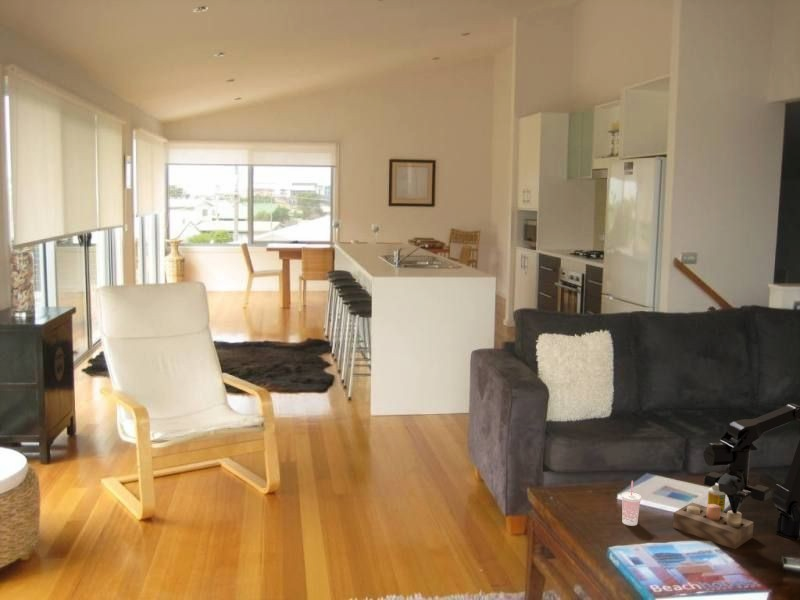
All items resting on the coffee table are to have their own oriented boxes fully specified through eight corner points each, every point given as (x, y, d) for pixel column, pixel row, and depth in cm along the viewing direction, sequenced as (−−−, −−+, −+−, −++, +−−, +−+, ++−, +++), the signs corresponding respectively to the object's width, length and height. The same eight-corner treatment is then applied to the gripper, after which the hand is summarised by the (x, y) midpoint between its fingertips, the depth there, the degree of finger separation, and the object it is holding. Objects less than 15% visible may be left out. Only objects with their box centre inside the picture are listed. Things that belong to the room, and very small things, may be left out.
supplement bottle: (711, 506, 271) (713, 478, 270) (727, 511, 267) (729, 483, 266) (704, 510, 267) (706, 483, 266) (719, 515, 264) (722, 487, 262)
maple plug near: (742, 528, 245) (743, 513, 245) (736, 532, 243) (738, 516, 242) (729, 524, 248) (731, 509, 248) (723, 528, 246) (725, 512, 245)
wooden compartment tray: (752, 537, 248) (753, 522, 247) (734, 549, 240) (736, 533, 239) (691, 516, 262) (692, 502, 261) (672, 527, 254) (673, 512, 253)
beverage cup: (640, 527, 254) (643, 485, 251) (620, 525, 255) (623, 483, 253) (638, 519, 260) (641, 478, 257) (619, 517, 261) (621, 476, 259)
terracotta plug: (722, 522, 250) (723, 506, 249) (716, 525, 247) (717, 510, 247) (709, 517, 253) (710, 502, 252) (703, 521, 250) (704, 506, 250)
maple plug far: (701, 523, 255) (702, 508, 255) (695, 527, 253) (696, 512, 252) (689, 519, 258) (690, 504, 257) (683, 522, 255) (684, 508, 255)
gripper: (696, 461, 244) (692, 510, 246) (758, 479, 230) (753, 530, 233) (713, 453, 251) (709, 500, 254) (774, 469, 238) (769, 519, 240)
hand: (734, 512), depth 245 cm, fingers closed
